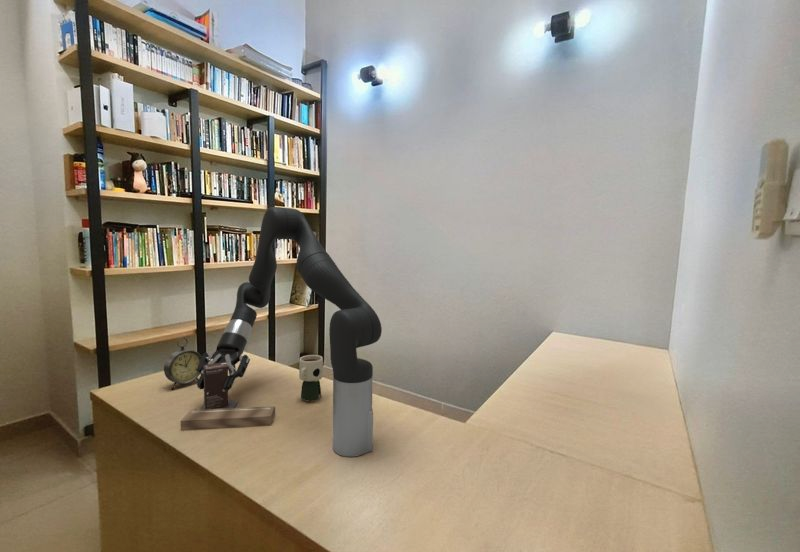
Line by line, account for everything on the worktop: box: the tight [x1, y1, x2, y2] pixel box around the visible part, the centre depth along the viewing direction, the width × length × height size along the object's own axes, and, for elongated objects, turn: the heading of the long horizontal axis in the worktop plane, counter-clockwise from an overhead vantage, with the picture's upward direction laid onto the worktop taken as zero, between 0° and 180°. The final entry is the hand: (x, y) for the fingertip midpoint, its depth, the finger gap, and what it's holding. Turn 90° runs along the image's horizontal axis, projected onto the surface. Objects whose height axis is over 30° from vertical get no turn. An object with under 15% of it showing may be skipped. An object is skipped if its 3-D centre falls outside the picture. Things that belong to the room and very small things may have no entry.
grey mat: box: [198, 400, 239, 410], centre depth 103 cm, size 9×9×1 cm
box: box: [203, 362, 229, 409], centre depth 102 cm, size 6×4×12 cm
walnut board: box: [180, 405, 276, 431], centre depth 96 cm, size 22×6×3 cm, turn 99°
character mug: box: [298, 354, 324, 402], centre depth 111 cm, size 11×7×13 cm, turn 163°
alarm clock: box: [163, 336, 202, 390], centre depth 119 cm, size 11×5×16 cm, turn 148°
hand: (212, 389), depth 100 cm, fingers closed on box, 7 cm apart
